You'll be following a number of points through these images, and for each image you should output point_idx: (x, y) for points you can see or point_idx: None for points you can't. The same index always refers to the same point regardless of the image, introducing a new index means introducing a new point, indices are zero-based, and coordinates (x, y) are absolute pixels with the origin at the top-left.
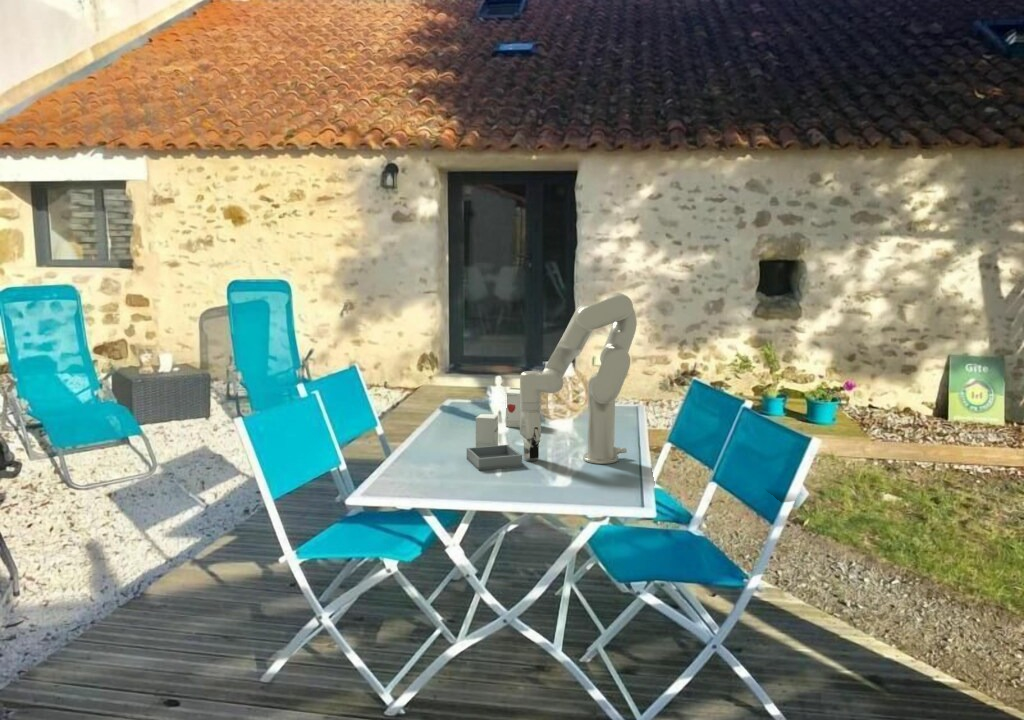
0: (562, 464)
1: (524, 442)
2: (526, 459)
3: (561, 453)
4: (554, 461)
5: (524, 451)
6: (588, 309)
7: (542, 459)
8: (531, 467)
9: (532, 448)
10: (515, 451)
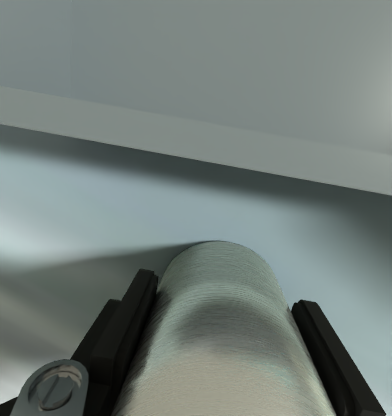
0: None
1: (246, 408)
2: (198, 249)
3: None
4: None
5: (233, 287)
6: None
7: None
8: (17, 183)
9: (87, 366)
10: (204, 137)
